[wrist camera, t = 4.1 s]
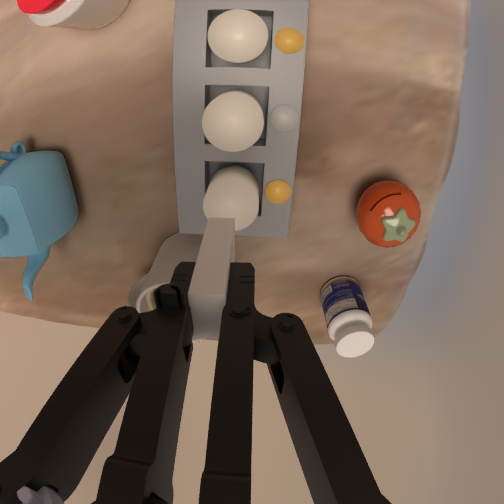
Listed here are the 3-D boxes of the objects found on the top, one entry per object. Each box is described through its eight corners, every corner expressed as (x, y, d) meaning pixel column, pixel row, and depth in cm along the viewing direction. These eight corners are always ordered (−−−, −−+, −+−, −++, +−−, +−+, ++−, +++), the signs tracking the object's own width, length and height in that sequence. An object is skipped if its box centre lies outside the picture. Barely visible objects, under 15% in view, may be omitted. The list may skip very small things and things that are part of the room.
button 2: (213, 63, 24) (206, 62, 20) (215, 17, 21) (208, 9, 18) (265, 64, 24) (266, 63, 20) (267, 18, 21) (269, 10, 18)
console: (188, 211, 35) (178, 234, 31) (188, 0, 22) (175, -12, 18) (283, 215, 36) (287, 239, 31) (301, 2, 22) (309, -10, 18)
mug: (236, 244, 38) (230, 300, 30) (213, 298, 43) (204, 355, 35) (151, 216, 36) (122, 265, 28) (139, 274, 41) (115, 327, 33)
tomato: (392, 159, 31) (424, 186, 25) (412, 209, 35) (442, 244, 28) (337, 190, 34) (357, 224, 27) (363, 237, 37) (383, 277, 30)
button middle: (209, 139, 26) (201, 151, 23) (209, 89, 24) (202, 92, 20) (261, 141, 26) (262, 153, 23) (264, 90, 24) (265, 94, 20)
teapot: (38, 254, 39) (-1, 303, 30) (1, 144, 29) (-55, 178, 20) (101, 251, 39) (64, 308, 29) (66, 122, 29) (3, 153, 19)
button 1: (209, 209, 30) (203, 230, 27) (209, 164, 27) (202, 180, 24) (257, 211, 30) (257, 232, 27) (259, 166, 28) (260, 182, 24)
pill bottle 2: (362, 298, 43) (380, 351, 34) (325, 310, 44) (336, 365, 36) (355, 269, 40) (376, 323, 31) (315, 282, 41) (326, 338, 33)
